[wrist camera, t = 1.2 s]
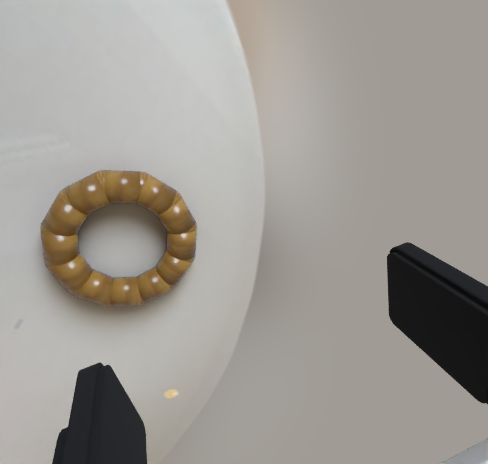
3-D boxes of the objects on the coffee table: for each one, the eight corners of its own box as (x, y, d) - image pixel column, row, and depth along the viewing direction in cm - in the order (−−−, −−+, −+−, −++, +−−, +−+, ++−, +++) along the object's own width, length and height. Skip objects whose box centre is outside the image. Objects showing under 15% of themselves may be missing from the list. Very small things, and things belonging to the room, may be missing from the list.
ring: (151, 141, 22) (153, 146, 20) (214, 255, 26) (220, 268, 24) (10, 212, 21) (-1, 223, 19) (101, 317, 25) (99, 334, 23)
